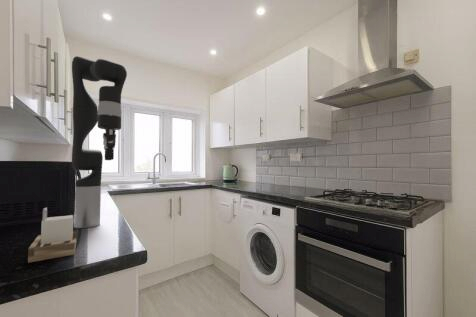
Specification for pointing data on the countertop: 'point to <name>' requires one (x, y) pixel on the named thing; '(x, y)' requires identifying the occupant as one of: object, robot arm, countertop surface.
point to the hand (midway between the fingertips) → (108, 159)
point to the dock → (51, 249)
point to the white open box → (56, 229)
